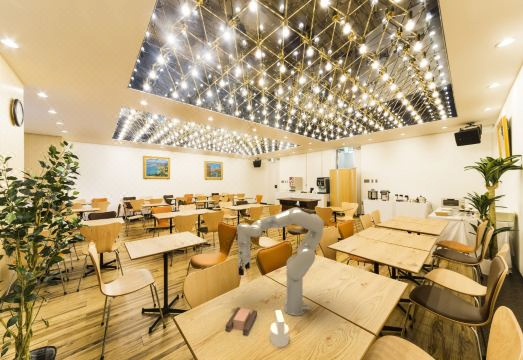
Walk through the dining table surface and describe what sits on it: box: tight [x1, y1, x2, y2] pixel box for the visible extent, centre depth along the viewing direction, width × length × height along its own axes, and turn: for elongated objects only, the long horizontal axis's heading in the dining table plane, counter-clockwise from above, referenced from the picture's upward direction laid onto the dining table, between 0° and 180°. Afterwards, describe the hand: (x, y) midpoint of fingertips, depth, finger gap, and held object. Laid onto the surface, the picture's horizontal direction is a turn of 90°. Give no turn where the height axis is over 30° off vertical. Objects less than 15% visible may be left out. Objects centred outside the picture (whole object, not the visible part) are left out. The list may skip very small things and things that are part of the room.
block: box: [232, 307, 251, 331], centre depth 115 cm, size 6×10×5 cm, turn 164°
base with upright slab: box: [269, 309, 290, 348], centre depth 103 cm, size 9×9×12 cm
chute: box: [225, 306, 258, 337], centre depth 115 cm, size 12×16×3 cm
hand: (244, 271), depth 129 cm, fingers open, 9 cm apart
